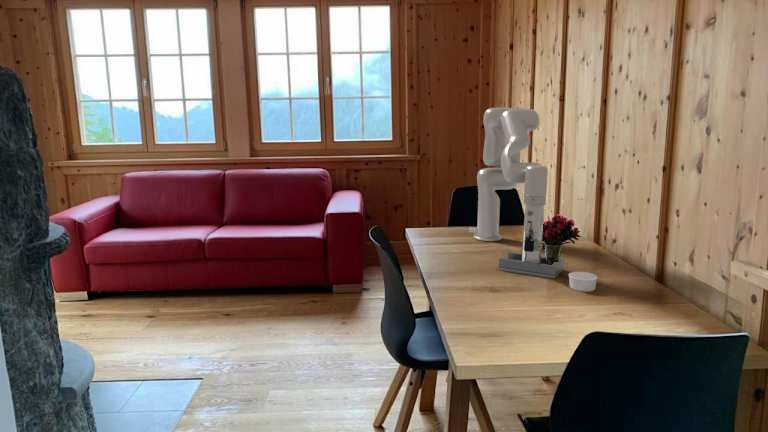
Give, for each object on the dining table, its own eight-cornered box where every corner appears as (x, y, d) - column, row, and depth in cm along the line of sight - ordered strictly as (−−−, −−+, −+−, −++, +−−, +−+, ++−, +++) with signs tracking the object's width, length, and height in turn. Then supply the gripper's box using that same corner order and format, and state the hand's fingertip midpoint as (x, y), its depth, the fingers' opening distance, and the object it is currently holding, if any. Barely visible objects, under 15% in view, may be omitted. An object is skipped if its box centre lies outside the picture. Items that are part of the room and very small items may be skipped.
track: (498, 270, 197) (498, 259, 196) (509, 261, 208) (509, 251, 207) (554, 278, 187) (555, 267, 186) (562, 269, 198) (563, 258, 197)
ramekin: (598, 293, 172) (600, 280, 172) (569, 291, 174) (570, 278, 173) (594, 284, 181) (595, 272, 180) (566, 283, 183) (567, 270, 182)
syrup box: (537, 260, 199) (540, 222, 197) (540, 265, 194) (543, 225, 191) (521, 260, 200) (524, 221, 197) (524, 264, 194) (526, 225, 191)
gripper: (539, 205, 183) (535, 255, 187) (551, 197, 198) (548, 245, 201) (517, 202, 187) (514, 252, 190) (530, 196, 201) (528, 242, 205)
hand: (531, 248), depth 196 cm, fingers closed on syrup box, 7 cm apart
